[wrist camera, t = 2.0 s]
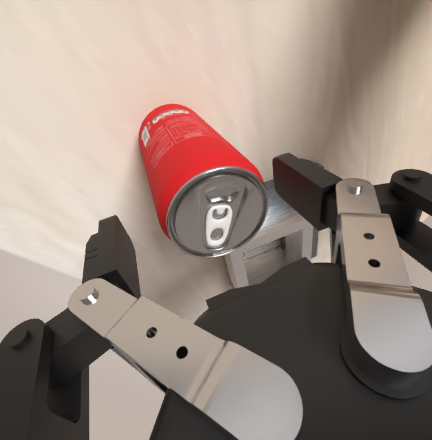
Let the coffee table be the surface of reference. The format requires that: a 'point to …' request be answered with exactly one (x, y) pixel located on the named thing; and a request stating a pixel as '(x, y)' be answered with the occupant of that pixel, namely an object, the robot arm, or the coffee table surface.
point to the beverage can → (200, 184)
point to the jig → (271, 230)
